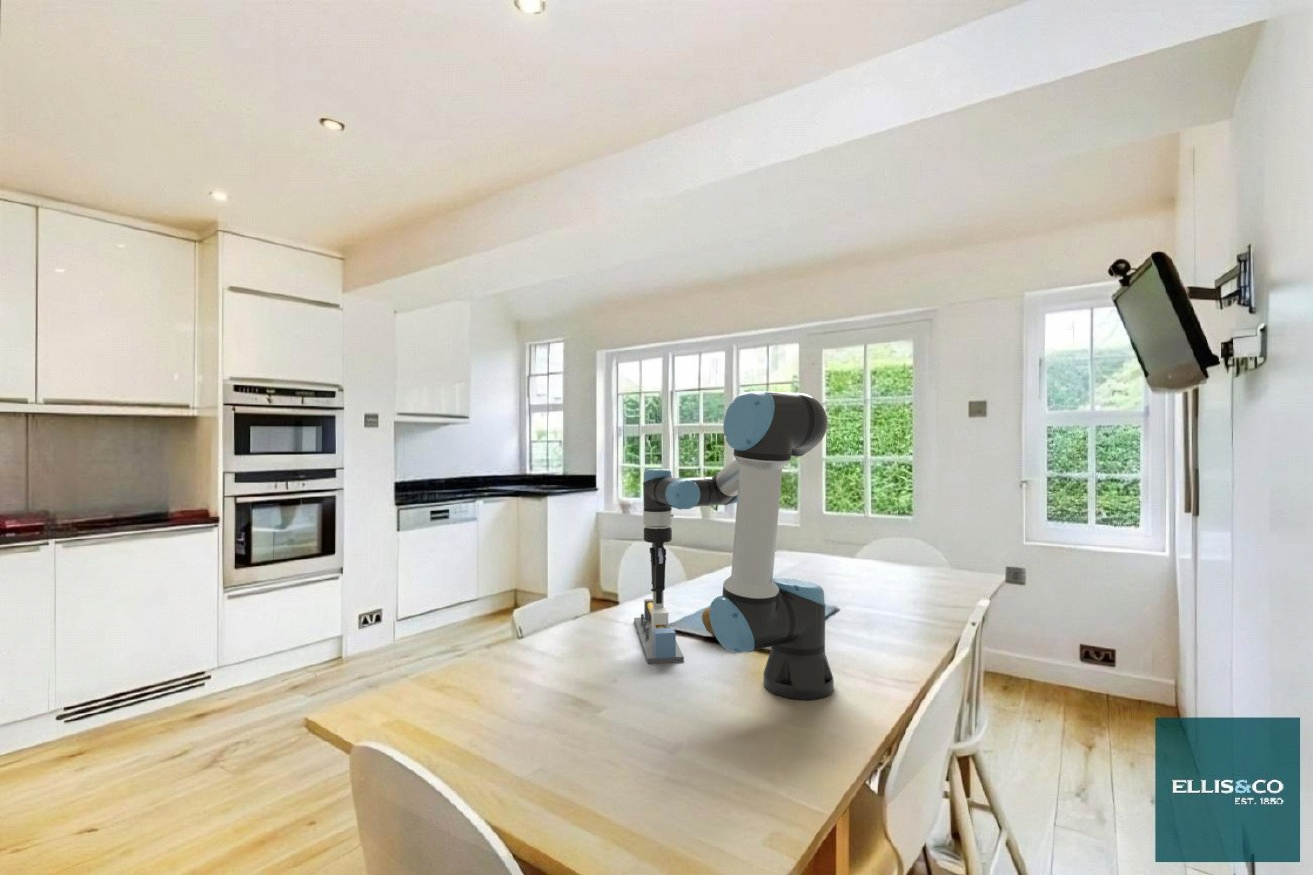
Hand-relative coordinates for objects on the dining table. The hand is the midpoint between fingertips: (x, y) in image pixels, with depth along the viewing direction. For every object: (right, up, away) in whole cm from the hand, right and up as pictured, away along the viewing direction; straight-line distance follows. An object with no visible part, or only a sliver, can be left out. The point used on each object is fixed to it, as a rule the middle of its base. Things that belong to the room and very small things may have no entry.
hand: (658, 614), depth 161 cm
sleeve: (0, -4, -3) cm, 5 cm away
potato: (+19, -8, +4) cm, 21 cm away
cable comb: (0, -8, +3) cm, 9 cm away
